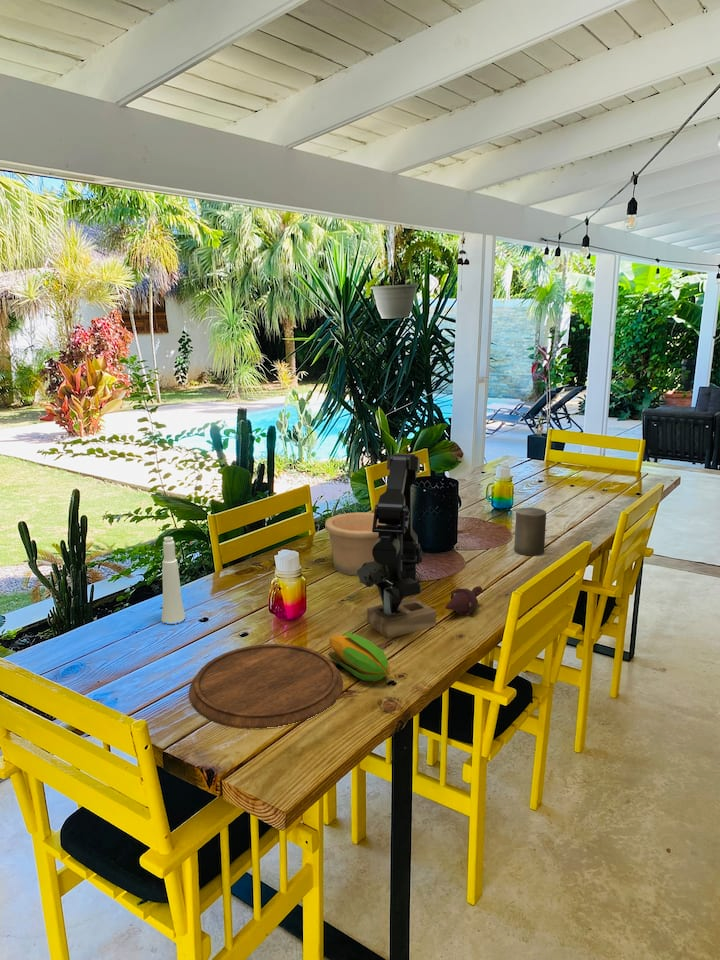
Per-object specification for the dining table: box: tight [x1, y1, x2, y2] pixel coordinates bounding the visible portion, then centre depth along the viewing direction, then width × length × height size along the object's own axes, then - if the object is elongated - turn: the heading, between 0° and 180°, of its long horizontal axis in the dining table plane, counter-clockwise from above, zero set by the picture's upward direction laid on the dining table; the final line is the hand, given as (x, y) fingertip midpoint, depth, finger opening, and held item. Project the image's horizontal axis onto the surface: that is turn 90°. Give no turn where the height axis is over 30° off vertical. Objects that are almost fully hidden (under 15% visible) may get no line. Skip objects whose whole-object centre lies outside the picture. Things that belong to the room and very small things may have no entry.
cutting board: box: [188, 643, 344, 729], centre depth 150 cm, size 32×32×2 cm
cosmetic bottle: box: [161, 536, 186, 623], centre depth 179 cm, size 6×6×22 cm
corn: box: [327, 632, 391, 682], centre depth 156 cm, size 7×8×20 cm
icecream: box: [444, 585, 483, 616], centre depth 185 cm, size 7×7×15 cm
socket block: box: [366, 597, 437, 639], centre depth 179 cm, size 10×14×4 cm
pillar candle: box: [513, 507, 547, 557], centre depth 232 cm, size 10×10×15 cm
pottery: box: [324, 511, 386, 577], centre depth 218 cm, size 22×22×14 cm
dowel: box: [384, 587, 396, 616], centre depth 176 cm, size 3×3×8 cm
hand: (389, 610), depth 176 cm, fingers closed on dowel, 3 cm apart
